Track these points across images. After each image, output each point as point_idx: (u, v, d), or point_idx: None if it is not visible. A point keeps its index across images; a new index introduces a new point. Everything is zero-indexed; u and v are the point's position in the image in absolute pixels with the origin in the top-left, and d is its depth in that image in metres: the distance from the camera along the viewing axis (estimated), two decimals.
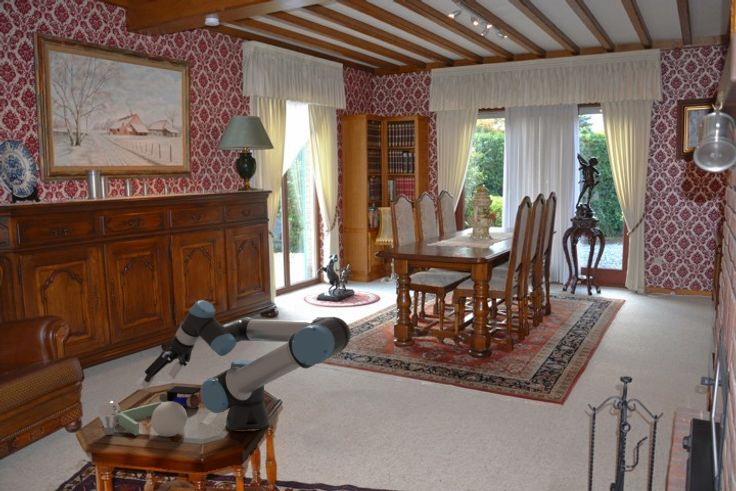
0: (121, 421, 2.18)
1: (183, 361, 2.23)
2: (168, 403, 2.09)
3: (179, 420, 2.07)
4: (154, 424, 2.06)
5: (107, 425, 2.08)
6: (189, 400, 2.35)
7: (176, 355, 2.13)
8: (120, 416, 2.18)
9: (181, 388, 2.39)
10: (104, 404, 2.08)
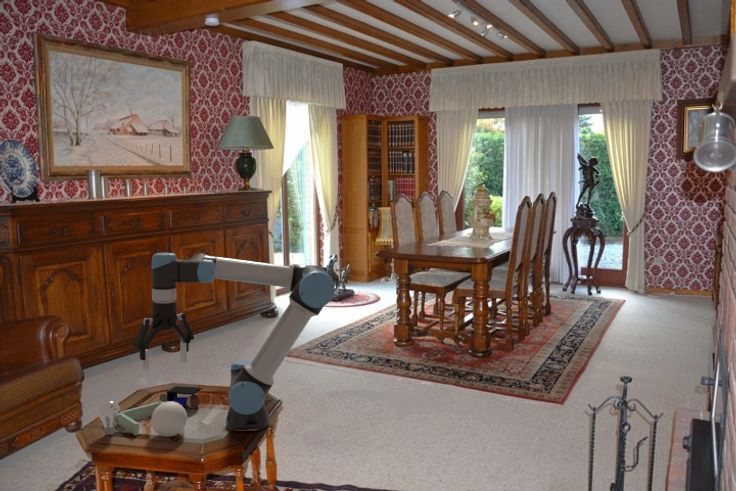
0: (121, 421, 2.18)
1: (183, 336, 2.04)
2: (168, 403, 2.09)
3: (179, 420, 2.07)
4: (154, 424, 2.06)
5: (107, 425, 2.08)
6: (189, 400, 2.35)
7: (161, 321, 1.98)
8: (120, 416, 2.18)
9: (181, 388, 2.39)
10: (104, 404, 2.08)
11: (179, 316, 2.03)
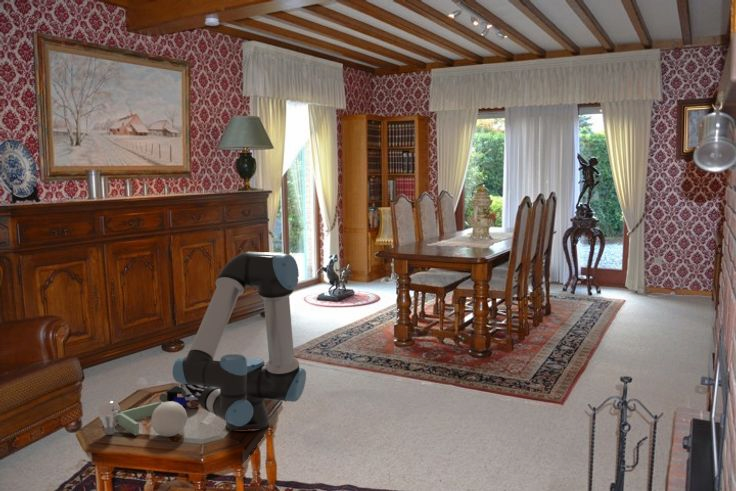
0: (121, 421, 2.18)
1: (191, 386, 1.96)
2: (168, 403, 2.09)
3: (179, 420, 2.07)
4: (154, 424, 2.06)
5: (107, 425, 2.08)
6: None
7: None
8: (120, 416, 2.18)
9: None
10: (104, 404, 2.08)
11: (191, 396, 1.89)
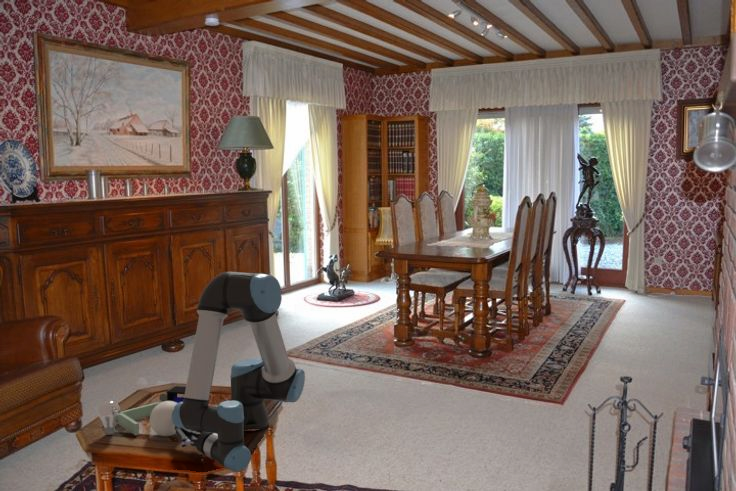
0: (121, 421, 2.18)
1: (185, 428, 1.99)
2: (165, 402, 2.10)
3: None
4: (152, 424, 2.07)
5: (107, 425, 2.08)
6: None
7: None
8: (120, 416, 2.18)
9: (181, 388, 2.39)
10: (104, 404, 2.08)
11: (187, 440, 1.92)
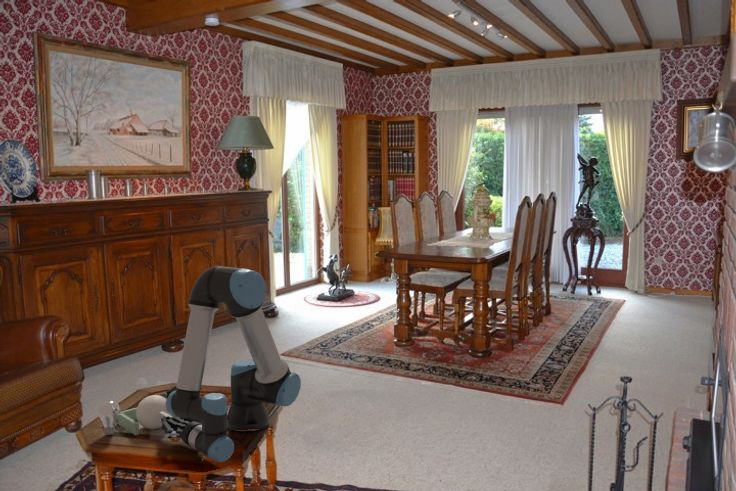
0: (121, 421, 2.18)
1: (171, 421, 2.05)
2: None
3: (157, 397, 2.15)
4: (139, 417, 2.12)
5: (107, 425, 2.08)
6: None
7: None
8: (120, 416, 2.18)
9: None
10: (104, 404, 2.08)
11: (173, 432, 1.97)
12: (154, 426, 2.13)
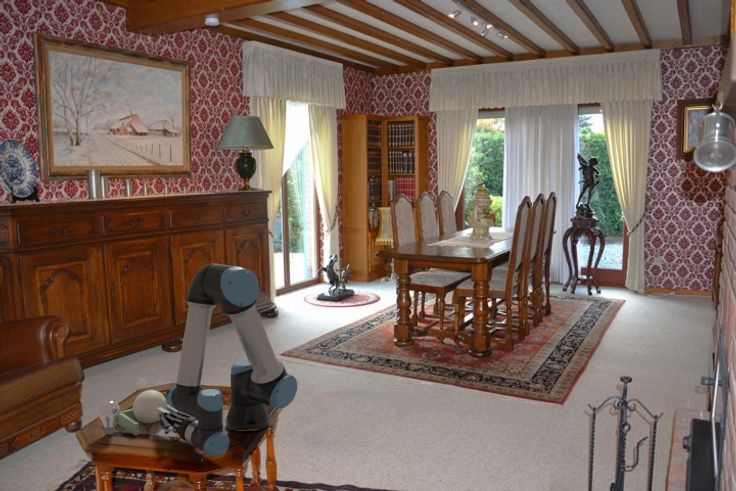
0: (121, 421, 2.18)
1: (169, 416, 2.08)
2: None
3: None
4: (136, 405, 2.17)
5: (107, 425, 2.08)
6: None
7: None
8: (120, 416, 2.18)
9: None
10: (104, 404, 2.08)
11: (170, 427, 2.01)
12: (151, 409, 2.16)
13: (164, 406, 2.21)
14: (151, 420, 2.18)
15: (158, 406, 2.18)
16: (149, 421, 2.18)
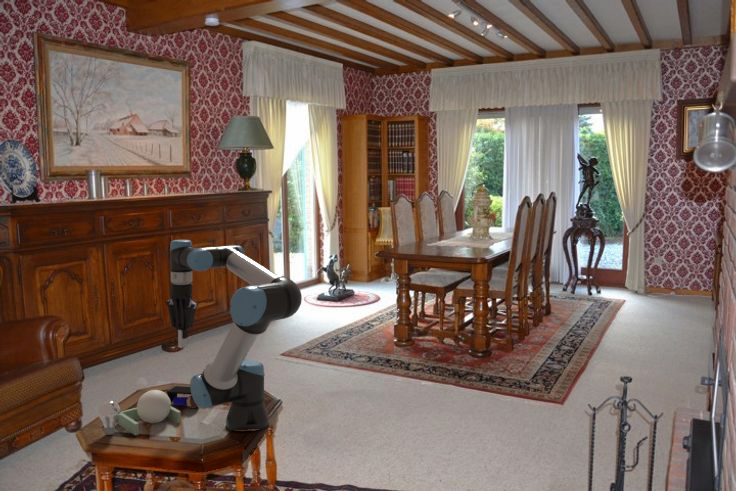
0: (121, 421, 2.18)
1: None
2: None
3: None
4: (142, 402, 2.17)
5: (107, 425, 2.08)
6: (189, 400, 2.35)
7: None
8: (120, 416, 2.18)
9: (181, 388, 2.39)
10: (104, 404, 2.08)
11: None
12: (156, 410, 2.17)
13: (168, 409, 2.21)
14: (153, 420, 2.18)
15: (163, 408, 2.18)
16: (150, 421, 2.18)
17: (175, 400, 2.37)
